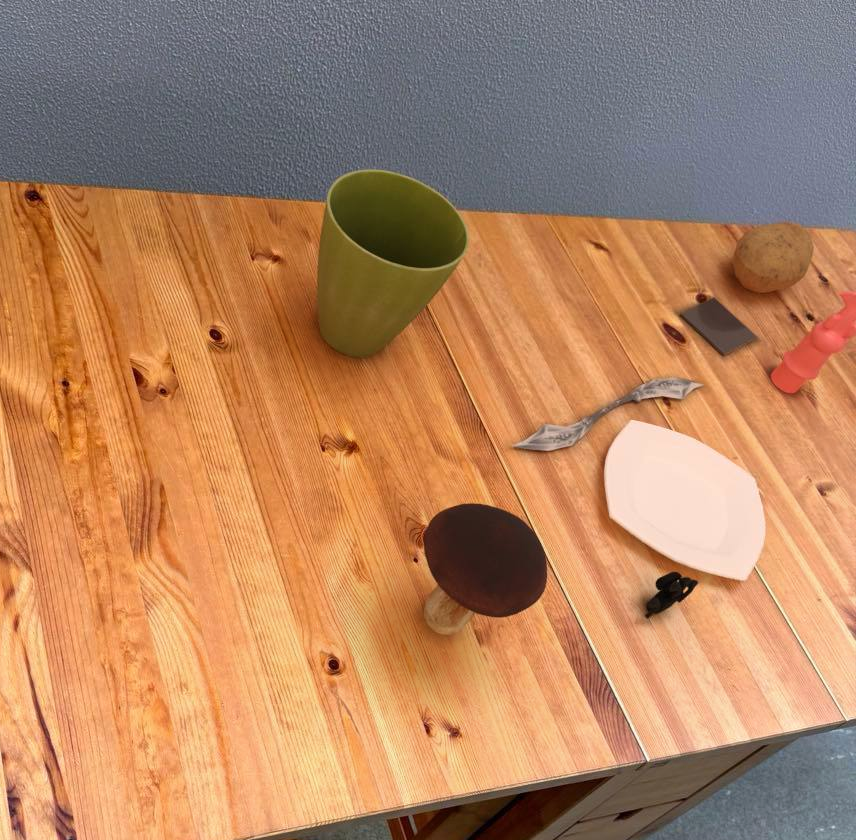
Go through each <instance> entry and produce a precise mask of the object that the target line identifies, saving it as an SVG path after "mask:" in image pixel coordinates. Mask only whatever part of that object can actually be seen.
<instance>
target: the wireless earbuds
mask: <svg viewBox="0 0 856 840" xmlns="http://www.w3.org/2000/svg"><path fill="white" fill-rule="evenodd" d="M698 584H699V581H698V580H697V579H692V578H691V577H689V576H682V574H681V573H680V572H678V571H671V572H669V573H666V574H664V575H662V576H660V577H658V578H657V579H656V580H655V583H654V586H655V589H656V590H658V592H657V593H656V594H654V595H653V596H652V597H651V598H650V599H649V600H648V601H647V602H646V604H645V605H646V606H645V608H646V610H647V612H646V613H645V615H644V618H645V619H650V618H651V616H653V615H658V614H660V613H662V612H663V611H666V610H668V609H670V608H672V606H673V605H674V604H676V603H678V604H680V603H682V602H683V601H684V600H685V599H686V598H688V597H689V595H691V593H692V592H693V591H694V589H695V588H696V586H698Z"/></svg>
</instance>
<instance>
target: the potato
mask: <svg viewBox="0 0 856 840" xmlns="http://www.w3.org/2000/svg"><path fill="white" fill-rule="evenodd" d="M814 249H815V247H814V244H813V241H812V238H811V235H810V233H809V232H808V231H807V230H806V228H804V226H802V225H800V224H799V223H797V222H792V221H781V222H775V223H771V224H764V225H758V226H755V227H754V228H752V229H750V230H748V231H746V232H745V233H743V235H741V237H740V238H739V239H738V240H737V242H736V245H735V249H734V253H733V269H734V274H735V278H736V279H737V280H738V282H739V283H740V284H741V286H742V287H743V288H745V289H747V290H749V291H753V292H755V293H759V294H763V293H769V292H773V291H778V290H783V289H786V288H791V287H792V286H794V285H796V284H797V283H798V282H800V281H801V280H802V279H803V278H804V277H805V276H806V275H807V272H808V270H809V267H810V264H811V261H812V259H813V256H814V255H813V254H814Z"/></svg>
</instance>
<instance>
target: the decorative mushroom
mask: <svg viewBox="0 0 856 840" xmlns="http://www.w3.org/2000/svg"><path fill="white" fill-rule="evenodd" d="M423 552H424V555H425V561H426V564H427V566H428V569H429V572H430V574H431V576H432V577H433V579H434V581H435V582H436V586H435V587H434V588H433V590H432V591H431V592H430V593H429V595H428V596H427V598H426V600H425V604H424V609H423V616H424V620H425V622H426V624H427V626H428V627H429V629H431V631H432V632H434V633H436V634H438V635H442V636H446V635H447V636H448V635H449V636H450V635H453V634H454V635H455V634H456V633H458V632H460V631H461V630H463V629H464V628H465V627H466V626H467V625H468V623H469V622H470V621H471V620H472V619H473V618H474V616H475V614H476V615H480V616H485V617H490V618H497V619H498V618H499V619H500V618H501V619H502V618H508V617H512V616H514V615H518V614H519V613H522V612H524V611H525V610H527V609H529V608H530V607H532V606H534V605H535V604H536V603H537V602H538V601H539V600H540V599H541V598H542V595H543V594H544V592H545V590H546V587H547V582H548V562H547V556H546V553H545V549H544V547H543V543H542V542H541V541H540V539H539V537H538V536H537V534H536V533H535V532H534V530H533V529H532V527H531V526H529V525H528V524H527V522H526V521H524V520H523V519H522V518H520V516H517V515H515V514H514V513H512V512H509V511H507V510H505V509H502V508H499V507H497V506H493V505H489V504H484V503H476V502H475V503H473V502H472V503H461V504H456V505H453V506H449V507H446V508H444V509H442V510H441V511H439V512H438V513H436V515H434V516H433V517H432V518H431V519H430V521H429V523H428V525H427V527H426V530H425V532H424V536H423Z"/></svg>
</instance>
